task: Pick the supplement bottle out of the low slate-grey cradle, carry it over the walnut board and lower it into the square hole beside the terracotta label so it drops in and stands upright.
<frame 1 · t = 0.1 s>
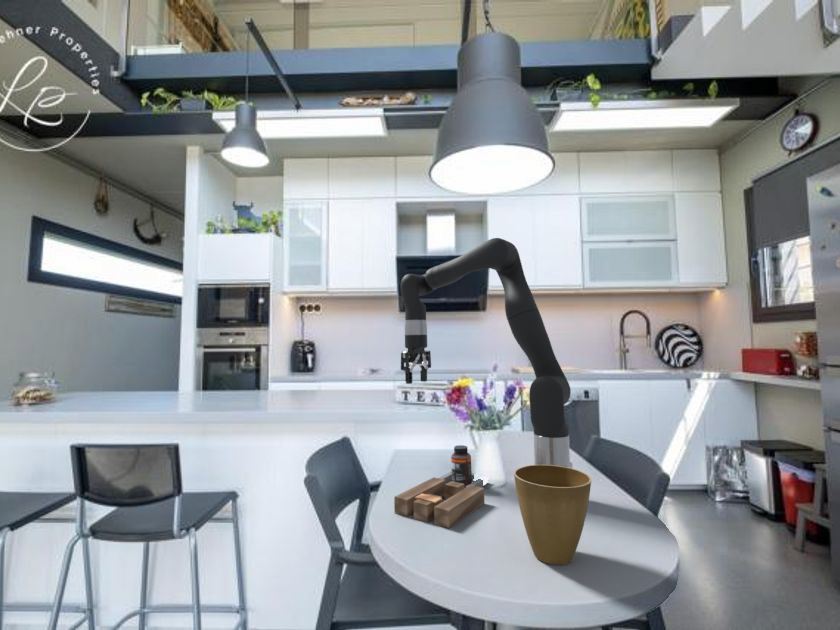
hand: (416, 382, 144), 29 cm above the table, tool pointing down, fingers open, 8 cm apart
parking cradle: (461, 485, 128), on the table
plant pot: (554, 556, 86), on the table
socket board: (440, 508, 111), on the table
supplement bottle: (461, 486, 128), resting in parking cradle
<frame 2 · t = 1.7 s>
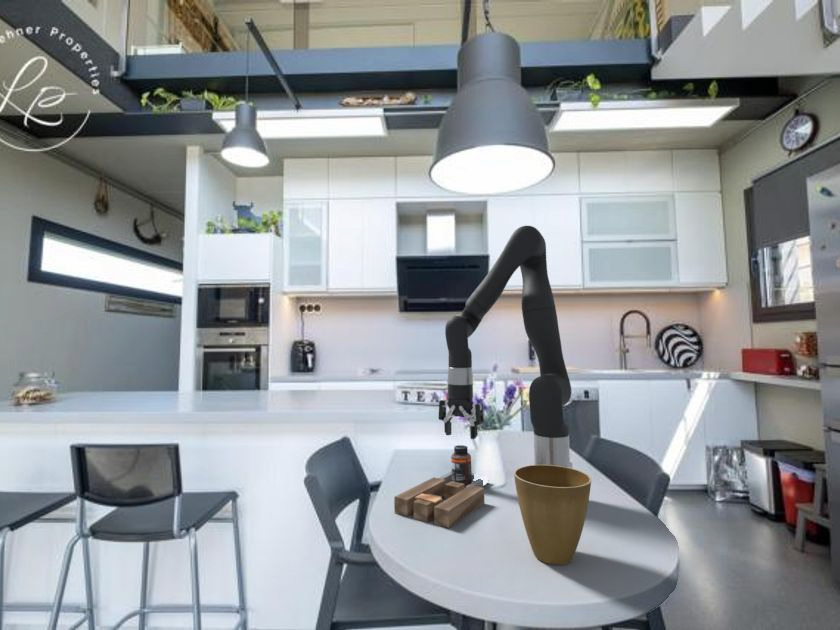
hand: (460, 436, 129), 14 cm above the table, tool pointing down, fingers open, 8 cm apart
nothing on the table moved.
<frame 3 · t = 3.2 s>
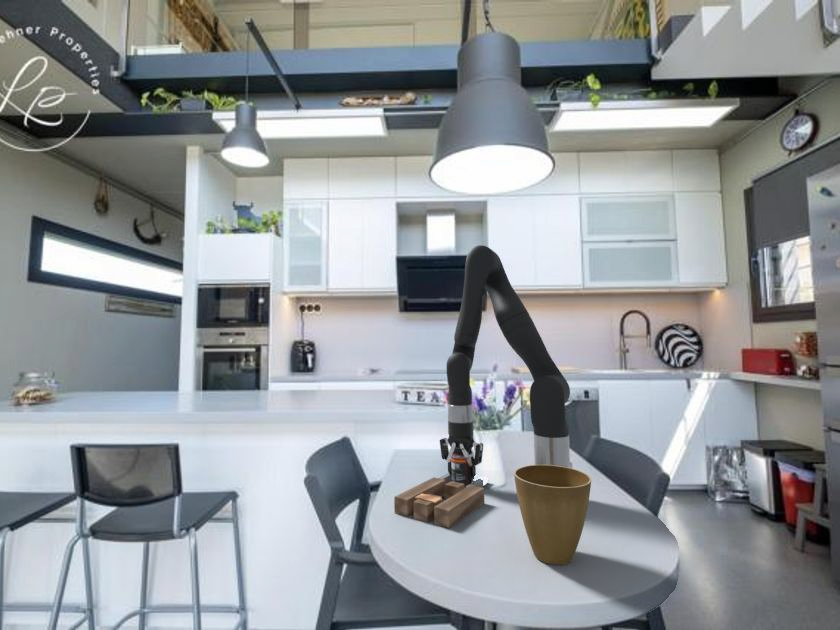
hand: (461, 476, 128), 3 cm above the table, tool pointing down, fingers closed on supplement bottle, 6 cm apart
supplement bottle: (461, 485, 128), resting in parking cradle, touching gripper
everything else where it was.
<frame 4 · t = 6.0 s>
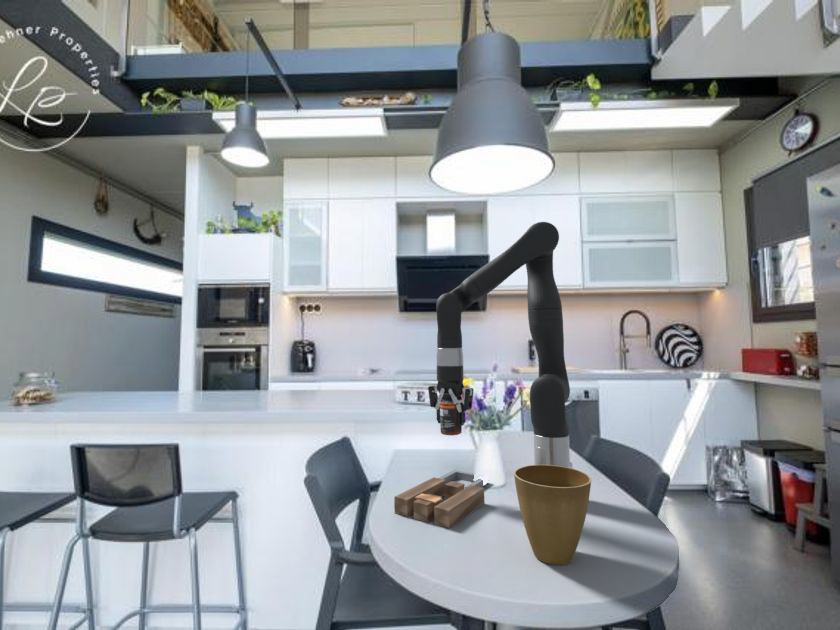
hand: (450, 424, 121), 20 cm above the table, tool pointing down, fingers closed on supplement bottle, 6 cm apart
supplement bottle: (451, 434, 121), point 17 cm above the table, touching gripper
everything else where it was.
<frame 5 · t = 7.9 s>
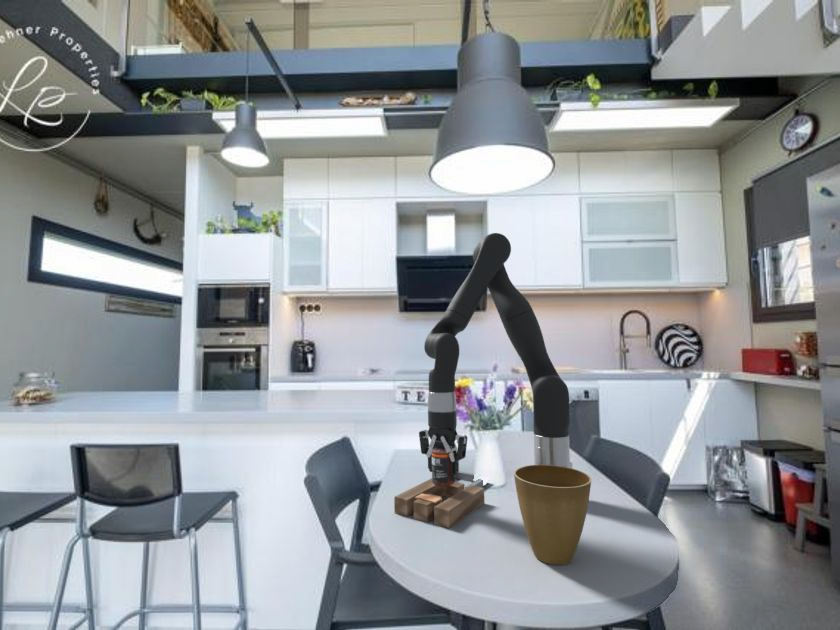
hand: (443, 473, 113), 8 cm above the table, tool pointing down, fingers closed on supplement bottle, 6 cm apart
supplement bottle: (443, 484, 113), point 6 cm above the table, touching gripper
everything else where it was.
when the fingers open (5 cm above the table, at t = 9.1 s): supplement bottle drops 2 cm, resting in socket board.
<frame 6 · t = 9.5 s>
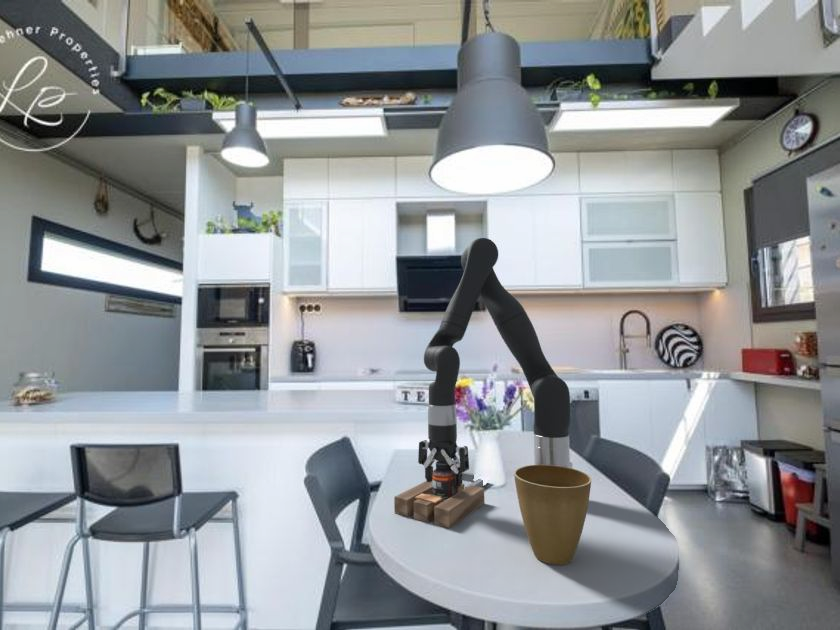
hand: (443, 484, 113), 6 cm above the table, tool pointing down, fingers open, 8 cm apart
supplement bottle: (444, 507, 112), resting in socket board
everything else where it was.
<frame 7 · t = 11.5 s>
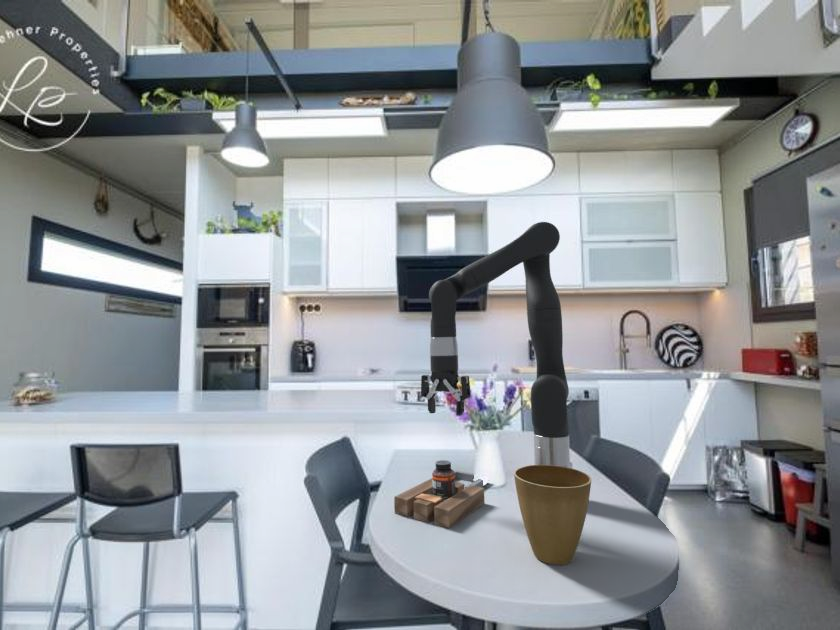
hand: (445, 414, 116), 23 cm above the table, tool pointing down, fingers open, 8 cm apart
nothing on the table moved.
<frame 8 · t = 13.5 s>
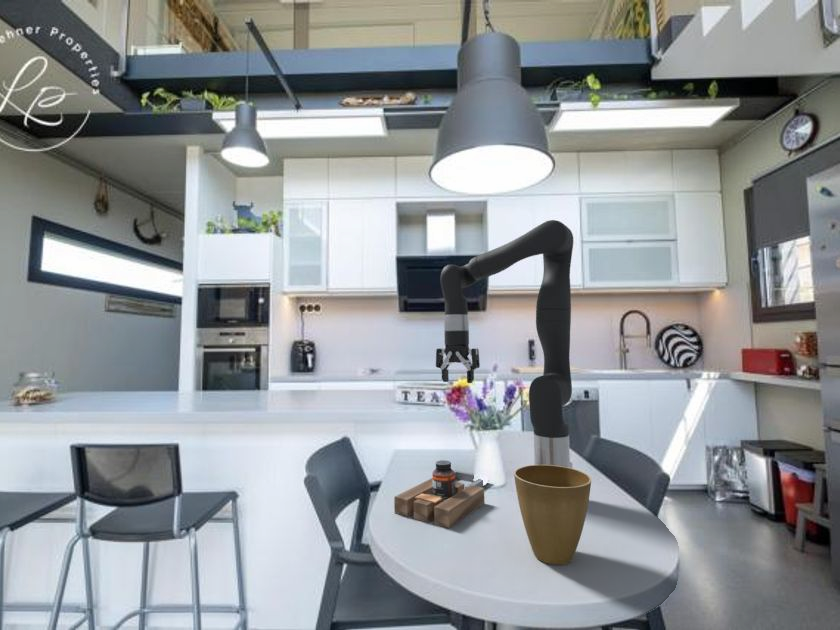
hand: (457, 382, 132), 30 cm above the table, tool pointing down, fingers open, 8 cm apart
nothing on the table moved.
at the end: supplement bottle 0.2 cm from the target spot on the socket board, point 0.0 cm above the socket board's base; supplement bottle tilted 0°; the gripper is holding nothing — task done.
